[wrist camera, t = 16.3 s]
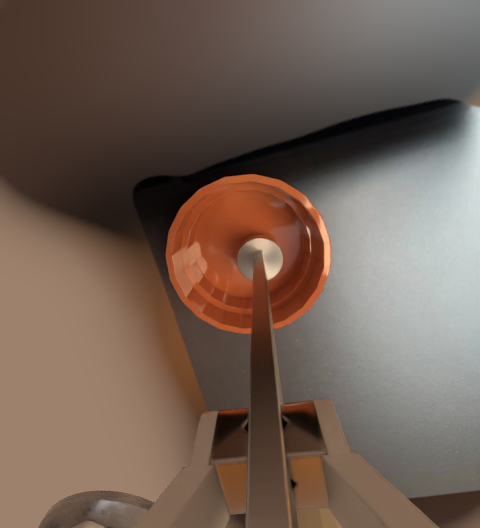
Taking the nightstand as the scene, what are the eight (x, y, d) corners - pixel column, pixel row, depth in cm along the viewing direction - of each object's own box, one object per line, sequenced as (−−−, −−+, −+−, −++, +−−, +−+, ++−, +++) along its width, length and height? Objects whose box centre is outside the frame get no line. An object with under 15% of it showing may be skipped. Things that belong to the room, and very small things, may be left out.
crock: (287, 488, 38) (299, 603, 28) (266, 448, 36) (270, 555, 26) (342, 475, 37) (378, 591, 26) (323, 432, 35) (353, 539, 24)
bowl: (217, 321, 31) (209, 352, 25) (161, 211, 27) (136, 218, 22) (332, 279, 28) (352, 302, 23) (286, 153, 25) (296, 143, 19)
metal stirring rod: (242, 279, 27) (176, 755, 4) (234, 239, 26) (83, 609, 3) (284, 272, 26) (449, 768, 4) (277, 231, 25) (459, 599, 3)
